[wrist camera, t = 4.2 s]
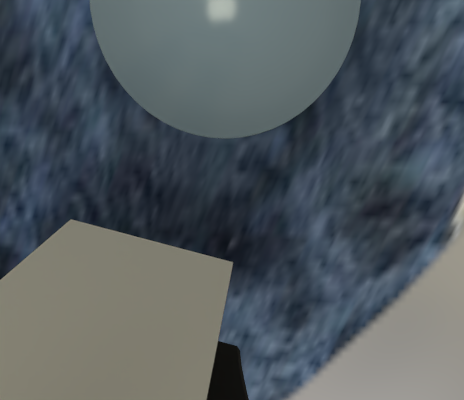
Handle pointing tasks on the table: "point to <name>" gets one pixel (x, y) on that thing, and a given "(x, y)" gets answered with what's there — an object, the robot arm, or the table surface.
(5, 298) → the cream block
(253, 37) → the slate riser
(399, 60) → the table surface
